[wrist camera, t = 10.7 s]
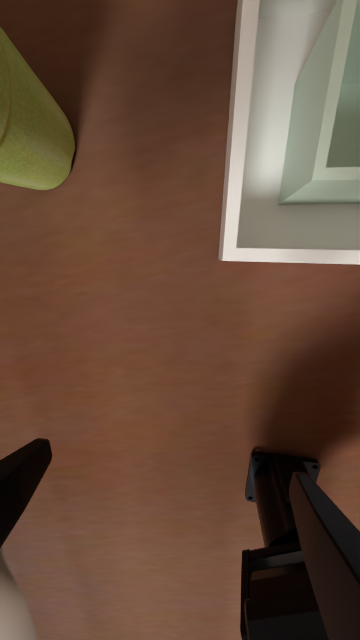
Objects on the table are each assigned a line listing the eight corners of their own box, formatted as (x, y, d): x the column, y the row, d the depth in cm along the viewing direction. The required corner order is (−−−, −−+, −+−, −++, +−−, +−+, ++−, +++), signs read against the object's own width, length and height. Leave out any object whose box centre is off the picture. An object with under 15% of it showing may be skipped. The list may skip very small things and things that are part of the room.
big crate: (415, 264, 15) (509, 268, 10) (218, 259, 17) (222, 260, 12) (508, -12, 11) (732, -211, 6) (236, 16, 13) (252, -127, 8)
